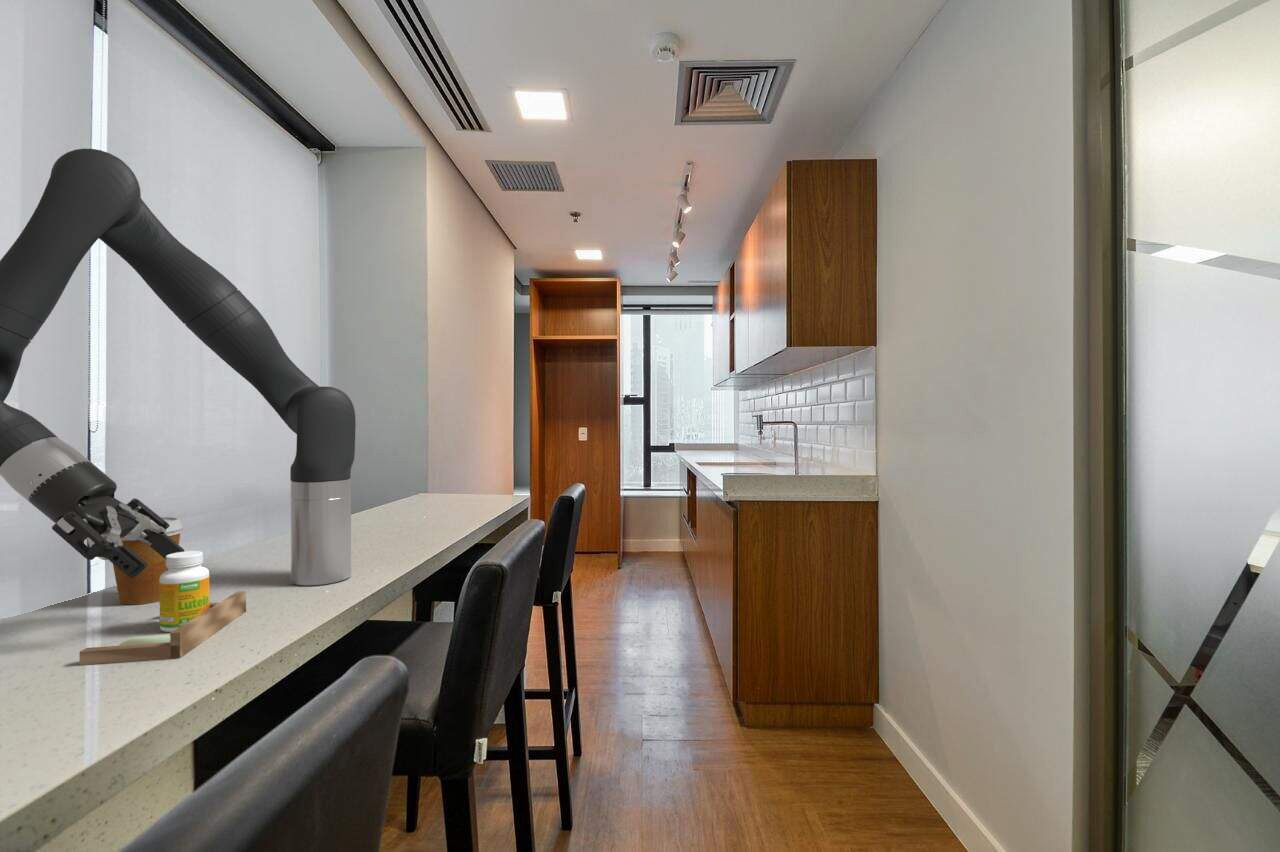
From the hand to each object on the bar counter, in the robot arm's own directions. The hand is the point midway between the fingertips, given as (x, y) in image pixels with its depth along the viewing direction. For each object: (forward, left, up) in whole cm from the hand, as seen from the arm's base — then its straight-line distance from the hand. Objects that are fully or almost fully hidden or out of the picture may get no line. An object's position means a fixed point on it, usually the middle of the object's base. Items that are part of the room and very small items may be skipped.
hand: (160, 564), depth 81 cm
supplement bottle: (0, +3, -9) cm, 9 cm away
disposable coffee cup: (-15, -10, -9) cm, 20 cm away
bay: (+3, +3, -8) cm, 9 cm away
